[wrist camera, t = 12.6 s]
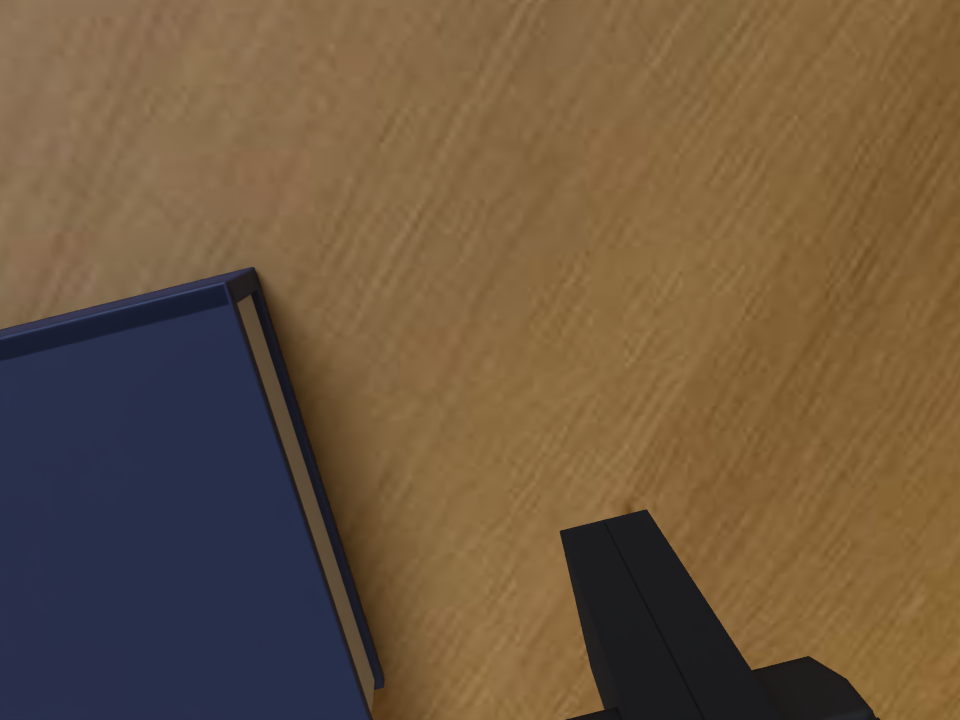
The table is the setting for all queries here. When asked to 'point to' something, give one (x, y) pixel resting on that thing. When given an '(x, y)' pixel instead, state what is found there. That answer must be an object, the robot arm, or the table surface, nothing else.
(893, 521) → the table surface
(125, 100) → the table surface
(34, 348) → the book
